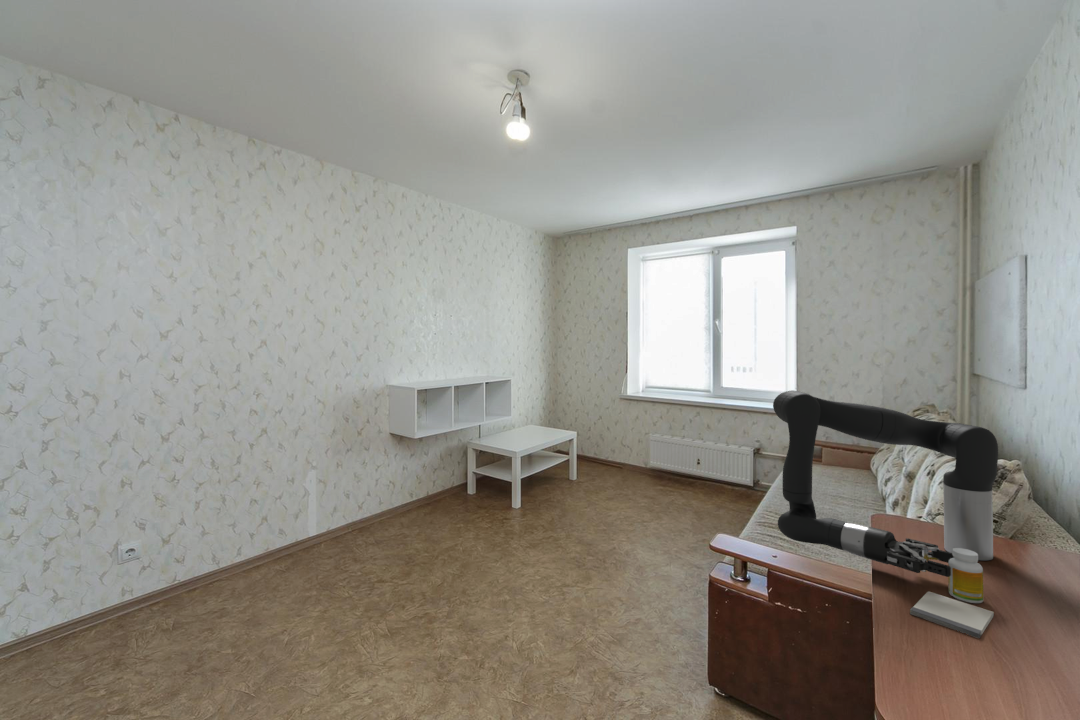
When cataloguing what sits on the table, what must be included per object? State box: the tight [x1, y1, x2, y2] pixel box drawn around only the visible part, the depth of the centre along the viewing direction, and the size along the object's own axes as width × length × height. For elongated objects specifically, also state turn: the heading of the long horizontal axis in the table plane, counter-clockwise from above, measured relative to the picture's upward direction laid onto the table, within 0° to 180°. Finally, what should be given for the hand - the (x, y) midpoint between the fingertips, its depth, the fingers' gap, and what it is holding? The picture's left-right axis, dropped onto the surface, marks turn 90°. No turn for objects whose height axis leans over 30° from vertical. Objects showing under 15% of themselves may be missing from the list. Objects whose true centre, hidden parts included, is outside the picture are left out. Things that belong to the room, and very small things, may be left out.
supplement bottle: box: [947, 548, 984, 604], centre depth 96 cm, size 5×5×10 cm
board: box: [909, 590, 995, 639], centre depth 89 cm, size 12×10×1 cm
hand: (956, 566), depth 97 cm, fingers open, 8 cm apart
